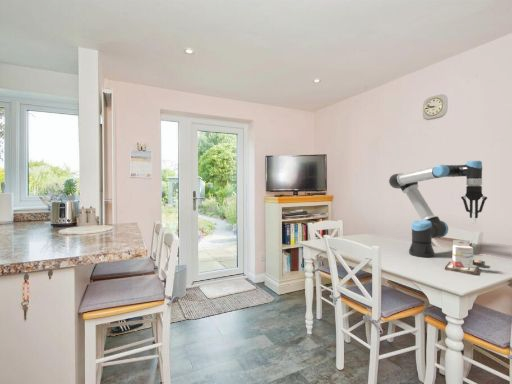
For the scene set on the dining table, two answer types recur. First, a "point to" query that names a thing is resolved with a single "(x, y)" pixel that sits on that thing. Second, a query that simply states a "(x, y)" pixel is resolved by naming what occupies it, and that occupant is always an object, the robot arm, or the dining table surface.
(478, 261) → the button
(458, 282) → the dining table surface
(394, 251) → the dining table surface
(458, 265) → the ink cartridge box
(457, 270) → the brown divided square tray
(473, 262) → the button housing
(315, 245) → the dining table surface
